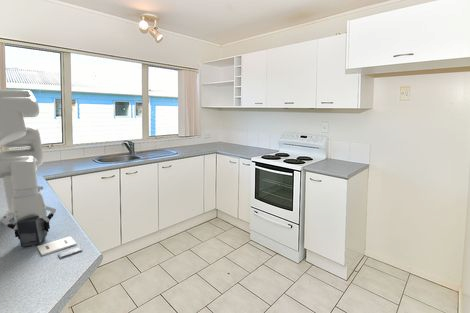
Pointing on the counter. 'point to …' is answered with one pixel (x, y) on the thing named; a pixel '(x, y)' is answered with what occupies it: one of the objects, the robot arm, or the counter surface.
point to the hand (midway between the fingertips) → (33, 234)
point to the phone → (69, 252)
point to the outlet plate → (56, 245)
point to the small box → (31, 231)
